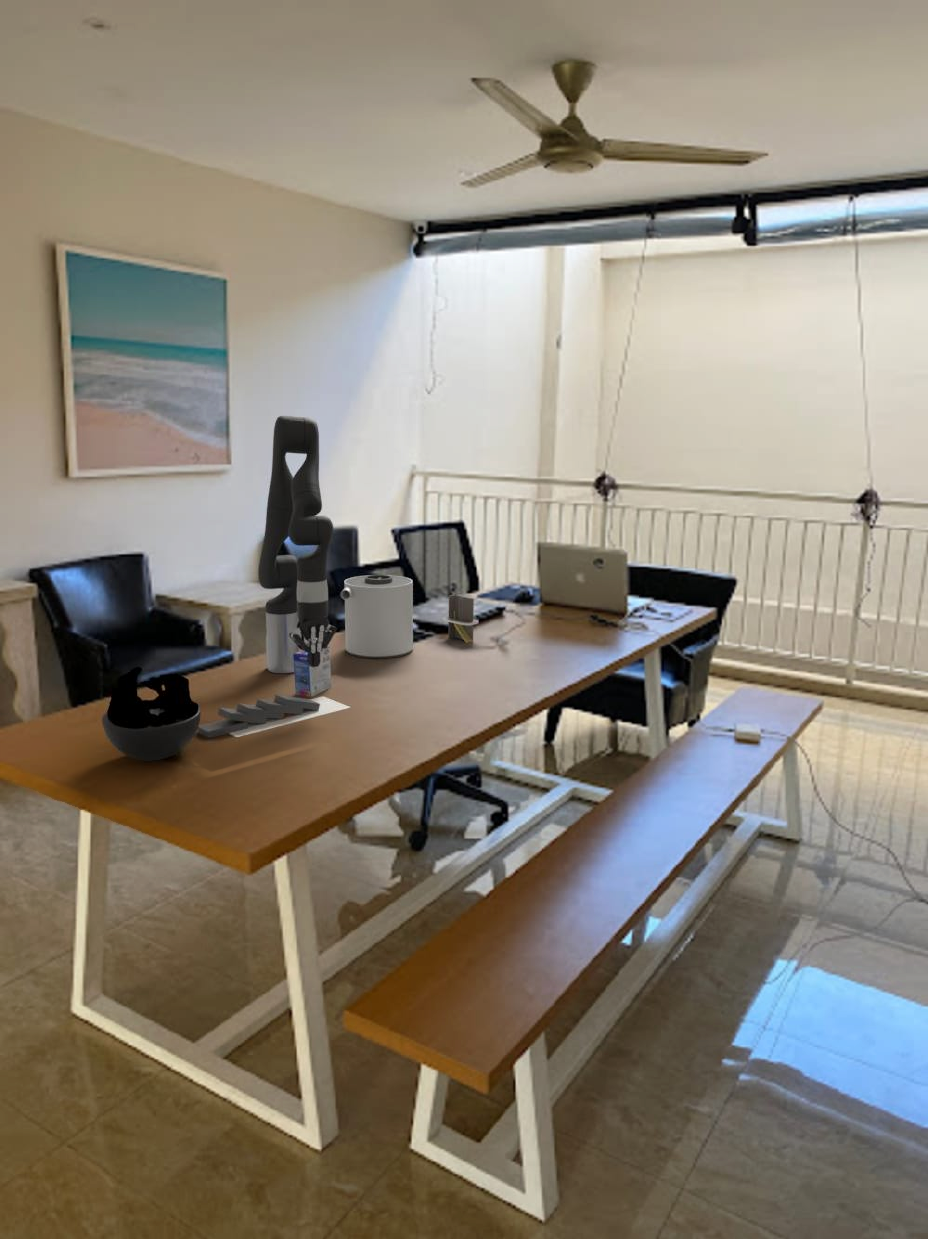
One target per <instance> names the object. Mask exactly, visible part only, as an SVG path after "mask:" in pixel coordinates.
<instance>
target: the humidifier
mask: <svg viewBox="0 0 928 1239" xmlns="http://www.w3.org/2000/svg"><path fill="white" fill-rule="evenodd" d="M343 583H344V588H343V589H342V591H341V592H340V598H342V599H343V600H344V623H345V624H344V625H345V626H344V627H345V629H344V630H345V631H344V632H345V633H344V634H345V651H346V653H348V654H349V655H352V657H353V656H354V657H356V658H357V657H358V658H361V659H362V658H363V659H375V660H377V659H393V658H399V657H403V656H406V655H408V654H410V653H412V651H413V649H414V626H413V625H414V624H413V623H414V621H413V619H414V614H413V613H414V607H413V606H414V605H413V604H414V603H413V602H414V600H413V599H414V597H413V596H414V593H413V590H414V588H413V586H414V583H413V579H411V578H409V577H406V576H401V575H389V574H371V575H369V574H368V575H359V576H358V575H357V576H353V577H350V578H347V579H345V580H344V582H343Z"/></svg>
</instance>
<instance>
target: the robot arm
mask: <svg viewBox="0 0 928 1239" xmlns="http://www.w3.org/2000/svg"><path fill="white" fill-rule="evenodd" d="M272 439H273V440H272V441H273V442H272V459H271V460H272V462H271V477H270V482H269V491H268V496H267V505H266V514H265V515H266V516H265V529H264V537H263V543H262V547H261V552H260V557H259V563H258V568H257V569H258V570H257V572H258V573H257V574H258V575H257V576H258V581H259V584H260V586H261V588H263V589H266V590H275V589H283V590H282V591H281V592H280V593H279V594H277V595H276V596H275V597H273V598H270V599H268V600H267V601H266V603H265V618H266V619H265V625H266V636H265V651H266V652H265V654H266V668H267V670H268V671H269V672H271V673H274V674H290V673H294V659H293V654H294V653H296V652H299V651H301V650H303V651H305V652H307V656H308V664H309V665H310V666H311V667H318V666H319V664H320V651H321V650H322V649H323V648H327V647H329V645H330V643H331V641H332V639H333V637H334V636H335V634H336V632H337V631H338V628H337V627H336V626H334V625H331V624H330V621H329V618H328V616H329V587H328V581H327V580H328V579H327V578H328V577H327V572H328V571H327V561H328V555H329V549H330V545H331V543H332V539H333V535H334V524H333V521H332V520H331V519H330V518H329V517H328V516H326V515H319V514H320V513H321V511H322V508H323V502H322V494H321V487H320V480H319V479H320V478H319V477H320V474H319V472H320V432H319V426H318V423H317V422H316V420H315V419H313V418H310V417H302V416H291V415H280V416H278V417H277V418H276V420H275V423H274V428H273V438H272ZM286 454H299V455H300V454H302V455H303V454H304V455H305V454H306V457H305V459H304V461H303V462H302V465H301V466H300V468H299V469H297V471H296V473H295V474H294V476H293V474H292V473H291V471H290V468H289V466H288V463H287V460H286ZM288 538H289V540H290V541H291V543H292V544H294V545H295V546H299V547H300V546H302V547H303V546H305V547H306V546H307V547H309V546H317V548H316V549H315V550H314V551H313V552H311V553H307V554H303V555H300V556H299V557H298V558H297V557H296V556H295V555H293V554H284V555H282V554H281V555H278V554H279V551H280V549H281V547H282V546H283V544H284V542H285V541H286V540H287V539H288ZM302 636H303V639H302Z"/></svg>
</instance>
